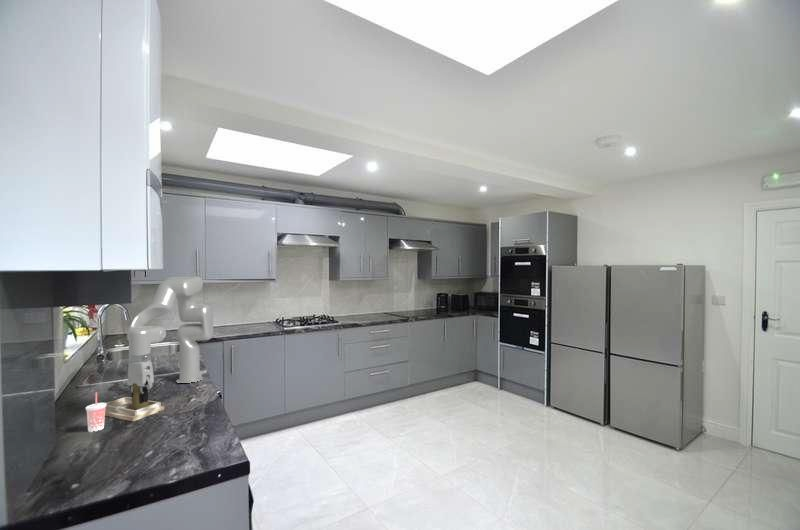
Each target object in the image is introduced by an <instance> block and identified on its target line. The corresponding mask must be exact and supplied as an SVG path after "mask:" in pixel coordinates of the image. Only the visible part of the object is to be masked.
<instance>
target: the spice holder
mask: <svg viewBox="0 0 800 530" xmlns="http://www.w3.org/2000/svg"><path fill="white" fill-rule="evenodd" d="M106 403H107V404H106V408H105V417H108V416H109V418H113V417H114V419H117V420H118V419H119V420H123V421H124V420H125V421H128V422H135V421H138V420H141V419H144V418H145V417H149V416H151V415H154V414H157V413H159V411H160V412H162V411H164V409H165V406H164V405H161V403H162V402H160V401H156V400H155V401H153V400H149V399H148V406H147V407H144V408H141V409H131V405H132V396H131V397H130V396H124V397H121V398H118V399H115V400H111V401H108V402H106Z"/></svg>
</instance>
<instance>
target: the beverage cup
mask: <svg viewBox="0 0 800 530" xmlns="http://www.w3.org/2000/svg"><path fill="white" fill-rule="evenodd" d="M106 404H107V402H98V392H95V403H93V404H92V403H91V404H90V405H87V406H86V407H85V411H86V417H87V418H86V419H87V431H88V432H89V433H94V432H93V431H95V432H98V430H99V431H101V430H103V429H104V427H105V420H106V416H105V408H106Z"/></svg>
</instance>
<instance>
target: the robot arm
mask: <svg viewBox="0 0 800 530" xmlns="http://www.w3.org/2000/svg"><path fill="white" fill-rule="evenodd" d="M203 287H204V281H203V279H202V278H201V277H199V276H197V275H196V276H192V275H191V276H189V275H188V276H187V275H186V276H184V275H183V276H179V275H178V276H170V277H168V278H166V279H164V280H163V281H161V282H160V283H159V286H158V288H157V290H156V292H155V295H154V297H153V300H152V302H151V304H150V305H149V306H147V307H145V308H144V309H143V310H141V311H140V312H139V313H138V314H137V315H136V316H134V318H133V319H132V320H131V323H130V324H129V327H128V330H127V333H126V338H127V341H128V368H127V385H128V386H129V388H130V392H131V398H132V399H133V392H134V389H133V388H132V384H133V383H136V384H137V386H139V387H140V392H141V394H140V403H143V402H147V401H148V400H149V392H150V390H151V388H153V384H154V380H155V379H154V377H155V376H154V367H153V362H152V360H151V359H152V356H151V354H152V352H151V351H152V350H151V346H152V345H151V344H157V343H161V342H163V341H164V339H165V338H166V337H167V331H166V329H165V328H164V327H163V326H160V325H146V324H147V323H148V322H150V321H151V320H153V319H156V318H160V317H161V316H163V315H167V314H168V313H170V312H171V311H172V308H173V306H174V304H175V301H176V302H177V303H176V304H177V312H178V317H179V320H180V321H181V322H183V323H184V324H182V325H180V326H179V327H178V328H177V338H178V345H179V378H178V379H176V381H175V382H177V383H190V384H192V383H191V382H195V383H198V382H200V380H201V381H203V376H202V375H206V374H207V373H208V370H207V369H204V370H200V368H201V367H200V365H201V364H200V362H201V360H200V357H201V356H200V351H201V350H200V346H199V344H198V342H197V341H209V340H211V339H213V336H214V323H213V322H214V321H213V320H214V319H213V312H212V308H211V306H210V305H208V304H205V303H203V304H201V303H199V304H198V303H197V301H196V294H198V293H199V292H201V291H202V289H203ZM197 381H198V382H197ZM177 383H176V384H177ZM144 384H146V385H144ZM143 387H145V388H144V389H143Z"/></svg>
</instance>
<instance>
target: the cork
mask: <svg viewBox="0 0 800 530" xmlns="http://www.w3.org/2000/svg"><path fill="white" fill-rule="evenodd" d="M144 385H146V384H144ZM132 388H133V389H134V392H132V393H133V399H132V405H131V409H141V408H144V407H147V406H148V401H147V402H143V403H140V394H141V392H140V387H139V386H137V384H136V383H133V384H132ZM144 388H145V387H143V389H144Z"/></svg>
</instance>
